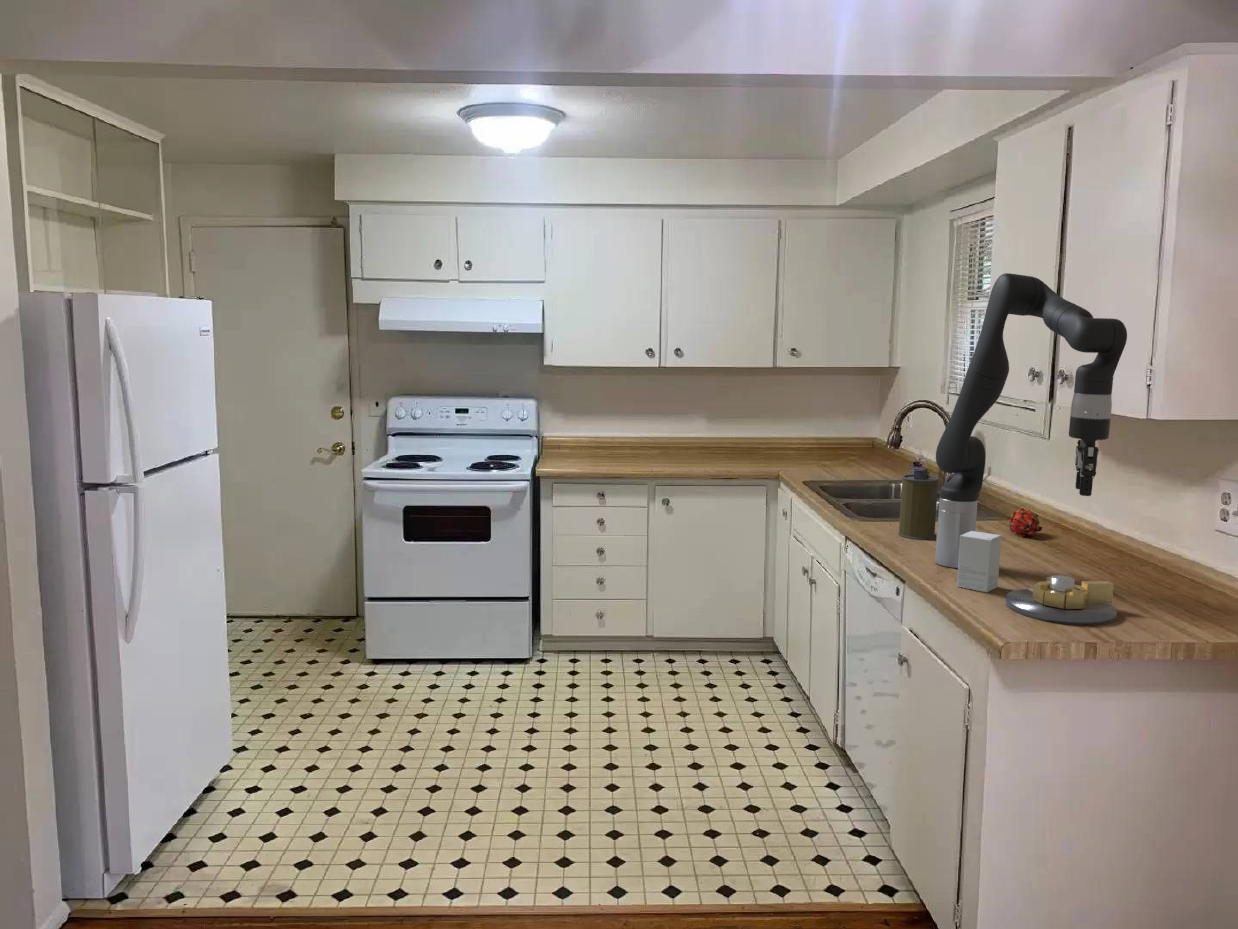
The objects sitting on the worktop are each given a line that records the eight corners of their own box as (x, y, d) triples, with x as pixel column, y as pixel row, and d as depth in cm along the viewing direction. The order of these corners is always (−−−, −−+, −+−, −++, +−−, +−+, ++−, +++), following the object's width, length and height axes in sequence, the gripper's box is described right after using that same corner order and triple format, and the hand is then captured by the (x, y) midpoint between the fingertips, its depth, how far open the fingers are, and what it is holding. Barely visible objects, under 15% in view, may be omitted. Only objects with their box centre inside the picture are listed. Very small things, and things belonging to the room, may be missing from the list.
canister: (930, 541, 268) (935, 472, 265) (893, 536, 274) (898, 468, 271) (939, 534, 277) (943, 467, 274) (903, 529, 283) (907, 464, 280)
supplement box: (998, 587, 222) (1002, 535, 220) (986, 593, 216) (991, 540, 214) (967, 581, 227) (971, 529, 225) (955, 587, 221) (959, 534, 219)
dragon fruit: (1021, 535, 285) (1028, 550, 274) (999, 518, 285) (1005, 532, 274) (1041, 515, 282) (1049, 529, 271) (1019, 498, 282) (1026, 511, 271)
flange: (987, 595, 215) (989, 565, 214) (1078, 594, 217) (1081, 565, 216) (1038, 626, 193) (1041, 593, 192) (1139, 624, 195) (1142, 592, 194)
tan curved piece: (1050, 609, 199) (1052, 589, 198) (1024, 594, 209) (1026, 576, 209) (1124, 608, 200) (1125, 589, 200) (1094, 594, 211) (1096, 575, 210)
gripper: (1115, 419, 186) (1107, 499, 189) (1106, 413, 199) (1099, 488, 202) (1073, 417, 189) (1066, 496, 191) (1067, 411, 202) (1060, 485, 205)
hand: (1083, 492), depth 197 cm, fingers open, 8 cm apart
